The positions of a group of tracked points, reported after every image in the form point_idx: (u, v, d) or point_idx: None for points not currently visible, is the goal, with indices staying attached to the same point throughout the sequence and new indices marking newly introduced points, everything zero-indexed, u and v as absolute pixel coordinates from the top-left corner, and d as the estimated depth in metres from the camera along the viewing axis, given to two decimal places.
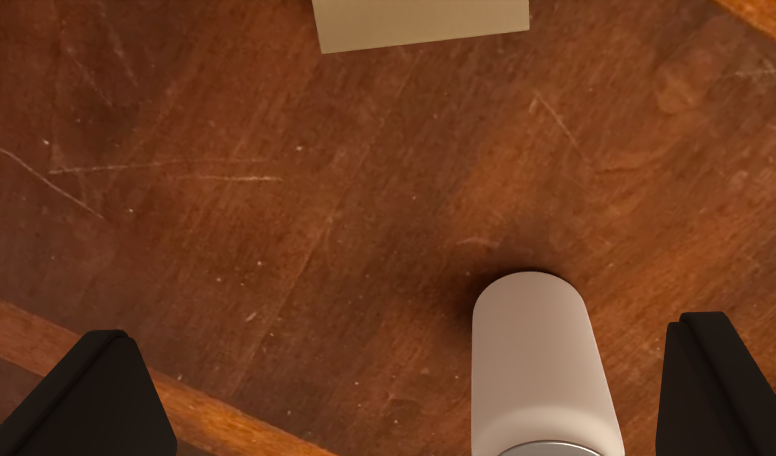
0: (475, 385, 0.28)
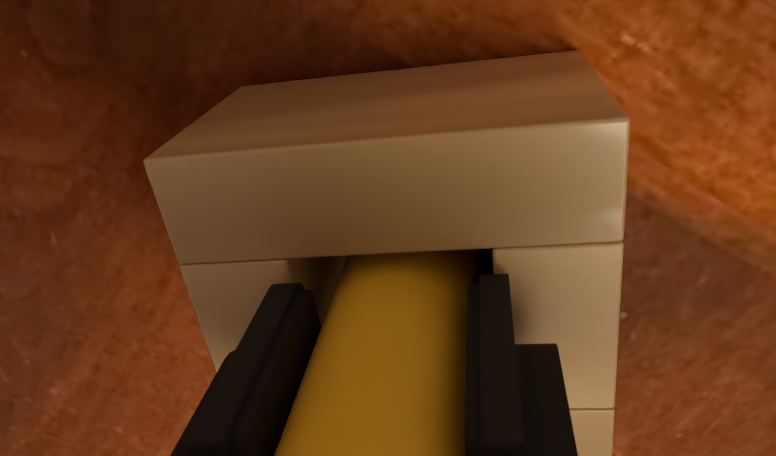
0: None
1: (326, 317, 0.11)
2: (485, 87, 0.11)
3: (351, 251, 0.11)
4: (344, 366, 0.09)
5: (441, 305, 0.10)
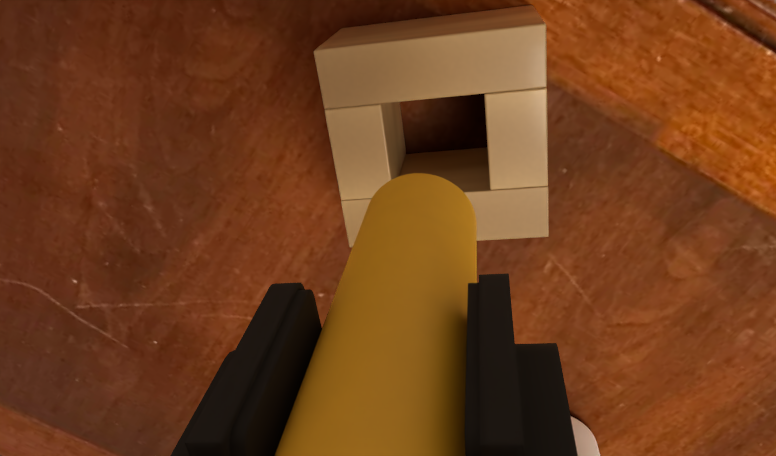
0: None
1: (327, 318, 0.11)
2: (481, 19, 0.22)
3: (414, 97, 0.21)
4: (345, 366, 0.09)
5: (441, 306, 0.10)
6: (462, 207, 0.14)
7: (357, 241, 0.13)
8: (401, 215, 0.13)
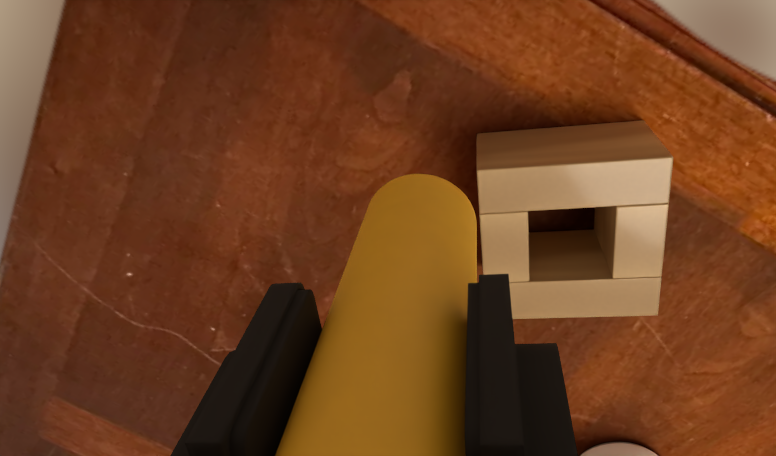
0: None
1: (327, 319, 0.11)
2: (608, 140, 0.27)
3: (557, 207, 0.26)
4: (345, 367, 0.09)
5: (441, 307, 0.10)
6: (462, 208, 0.14)
7: (357, 242, 0.13)
8: (401, 216, 0.13)
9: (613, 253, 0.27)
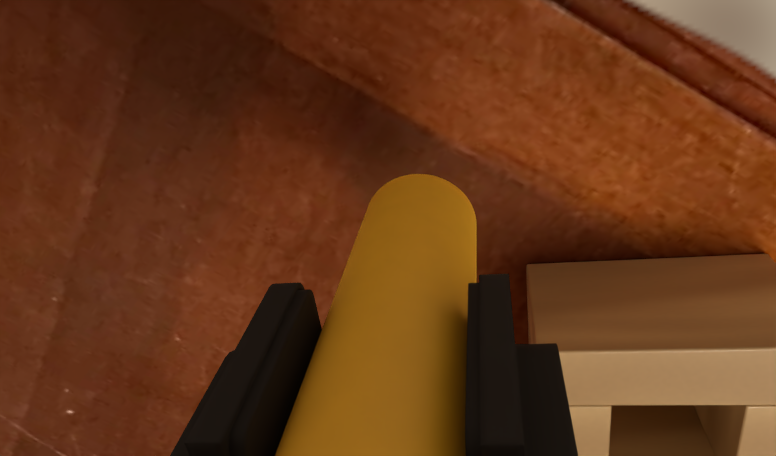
0: None
1: (326, 319, 0.11)
2: (726, 296, 0.19)
3: (656, 403, 0.18)
4: (344, 367, 0.09)
5: (441, 308, 0.10)
6: (462, 208, 0.14)
7: (357, 242, 0.13)
8: (401, 217, 0.13)
9: None
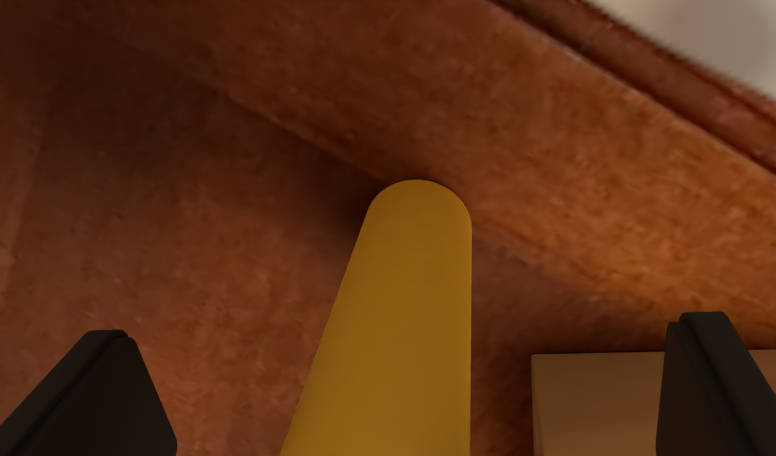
0: None
1: (329, 320, 0.12)
2: None
3: None
4: (346, 366, 0.09)
5: (437, 309, 0.11)
6: (457, 212, 0.15)
7: (357, 246, 0.14)
8: (400, 221, 0.14)
9: None
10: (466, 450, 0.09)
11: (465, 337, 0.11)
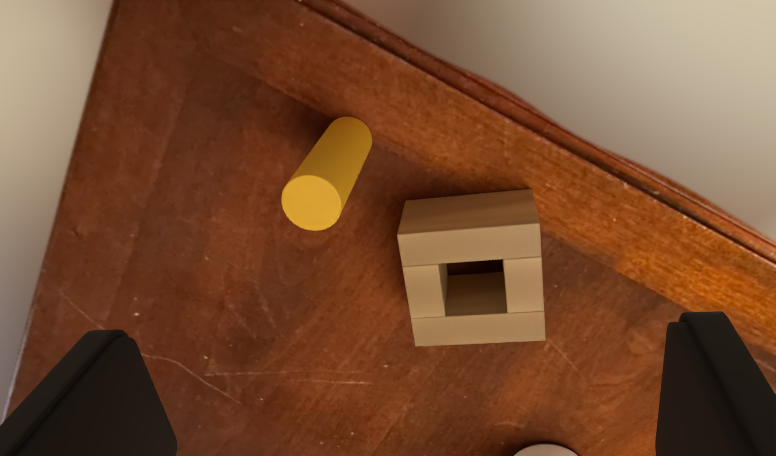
0: None
1: None
2: (499, 207, 0.36)
3: (459, 261, 0.35)
4: (310, 158, 0.30)
5: (343, 149, 0.32)
6: (362, 128, 0.36)
7: None
8: (335, 128, 0.35)
9: (505, 294, 0.35)
10: (346, 180, 0.30)
11: (354, 160, 0.32)
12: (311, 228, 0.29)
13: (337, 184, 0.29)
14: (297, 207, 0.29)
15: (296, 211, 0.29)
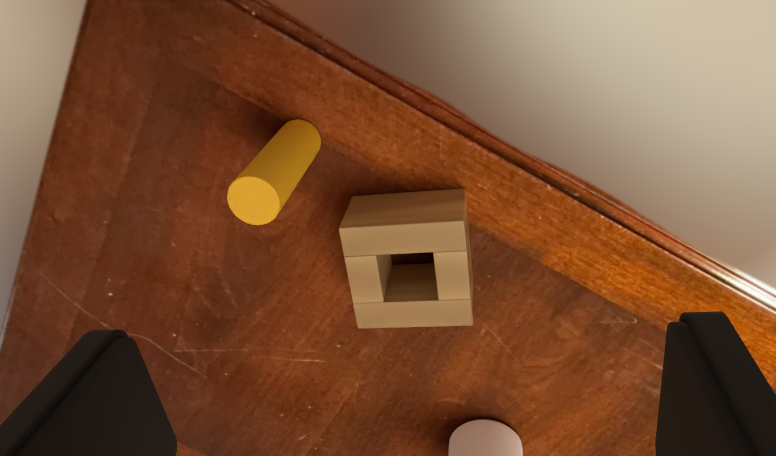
0: None
1: None
2: (432, 205, 0.39)
3: (394, 252, 0.39)
4: (255, 160, 0.34)
5: (287, 151, 0.36)
6: (310, 130, 0.40)
7: None
8: (285, 131, 0.38)
9: (436, 283, 0.39)
10: (287, 180, 0.34)
11: (297, 161, 0.36)
12: (254, 222, 0.33)
13: (276, 184, 0.32)
14: (241, 204, 0.33)
15: (240, 207, 0.33)
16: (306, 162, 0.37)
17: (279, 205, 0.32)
